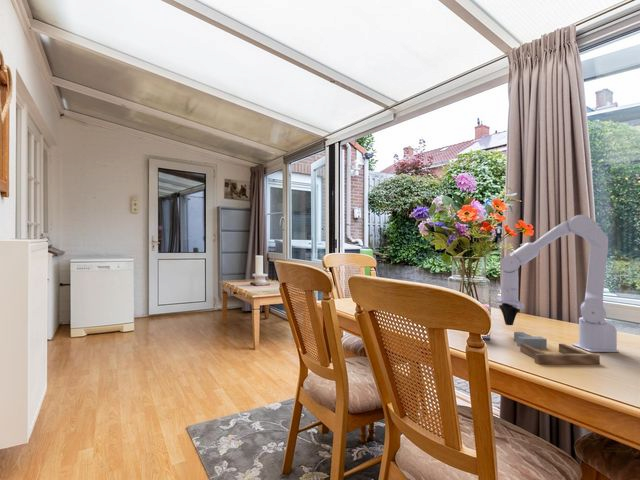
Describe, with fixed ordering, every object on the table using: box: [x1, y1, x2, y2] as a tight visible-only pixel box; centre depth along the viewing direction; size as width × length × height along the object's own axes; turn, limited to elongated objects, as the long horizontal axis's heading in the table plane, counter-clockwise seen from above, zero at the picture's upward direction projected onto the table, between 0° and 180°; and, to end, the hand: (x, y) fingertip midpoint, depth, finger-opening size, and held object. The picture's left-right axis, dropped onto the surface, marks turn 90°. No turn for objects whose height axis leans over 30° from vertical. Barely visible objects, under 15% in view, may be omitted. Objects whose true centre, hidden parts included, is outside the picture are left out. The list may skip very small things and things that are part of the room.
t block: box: [513, 331, 548, 349], centre depth 117 cm, size 8×9×3 cm
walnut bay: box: [519, 343, 601, 365], centre depth 103 cm, size 18×12×2 cm, turn 91°
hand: (509, 324), depth 127 cm, fingers closed
